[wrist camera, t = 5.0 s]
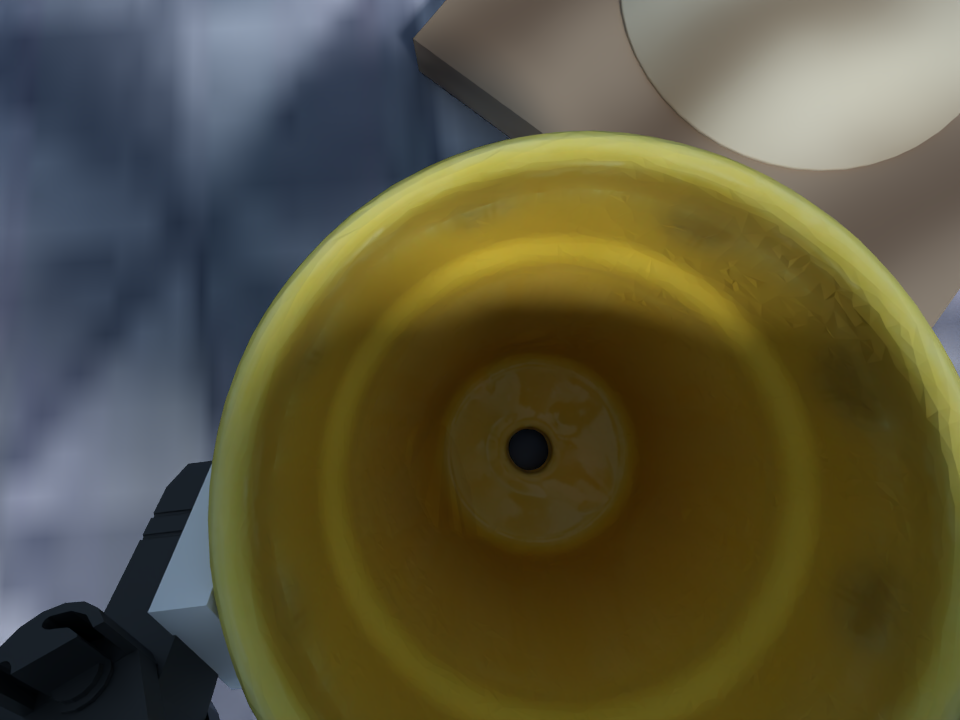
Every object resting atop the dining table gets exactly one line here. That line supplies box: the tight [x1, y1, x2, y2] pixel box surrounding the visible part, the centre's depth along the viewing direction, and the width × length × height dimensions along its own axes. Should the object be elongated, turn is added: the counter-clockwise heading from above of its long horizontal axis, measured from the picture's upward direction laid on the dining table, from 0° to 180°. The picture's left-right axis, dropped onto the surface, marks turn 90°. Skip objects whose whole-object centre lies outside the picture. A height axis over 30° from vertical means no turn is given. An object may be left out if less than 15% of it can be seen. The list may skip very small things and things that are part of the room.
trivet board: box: [413, 0, 960, 328], centre depth 17 cm, size 18×18×2 cm
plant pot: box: [208, 131, 960, 720], centre depth 11 cm, size 10×10×10 cm
